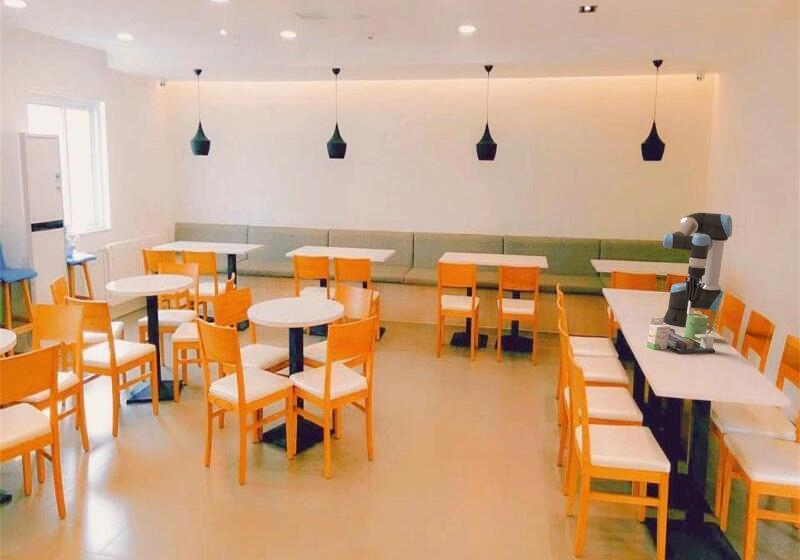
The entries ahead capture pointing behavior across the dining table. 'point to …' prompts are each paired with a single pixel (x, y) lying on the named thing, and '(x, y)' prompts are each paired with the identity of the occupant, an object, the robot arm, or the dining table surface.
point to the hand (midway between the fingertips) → (690, 313)
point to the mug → (696, 325)
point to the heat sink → (675, 341)
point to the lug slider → (706, 340)
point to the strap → (680, 338)
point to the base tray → (682, 351)
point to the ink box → (658, 334)
